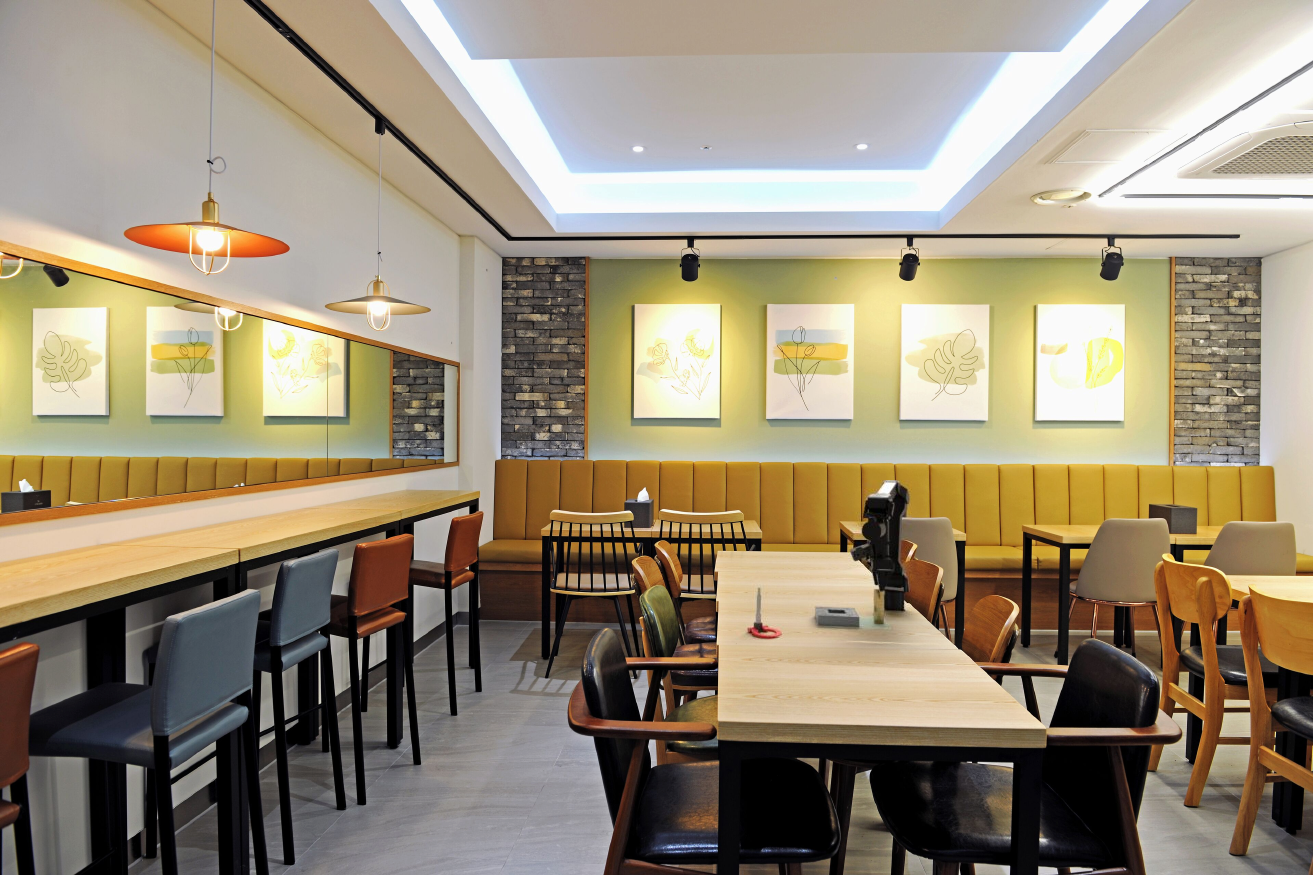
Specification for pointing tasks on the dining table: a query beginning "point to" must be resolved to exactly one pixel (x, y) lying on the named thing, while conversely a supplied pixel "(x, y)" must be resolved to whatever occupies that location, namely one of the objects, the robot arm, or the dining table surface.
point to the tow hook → (759, 625)
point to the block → (836, 616)
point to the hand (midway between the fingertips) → (878, 588)
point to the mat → (866, 624)
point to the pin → (878, 606)
